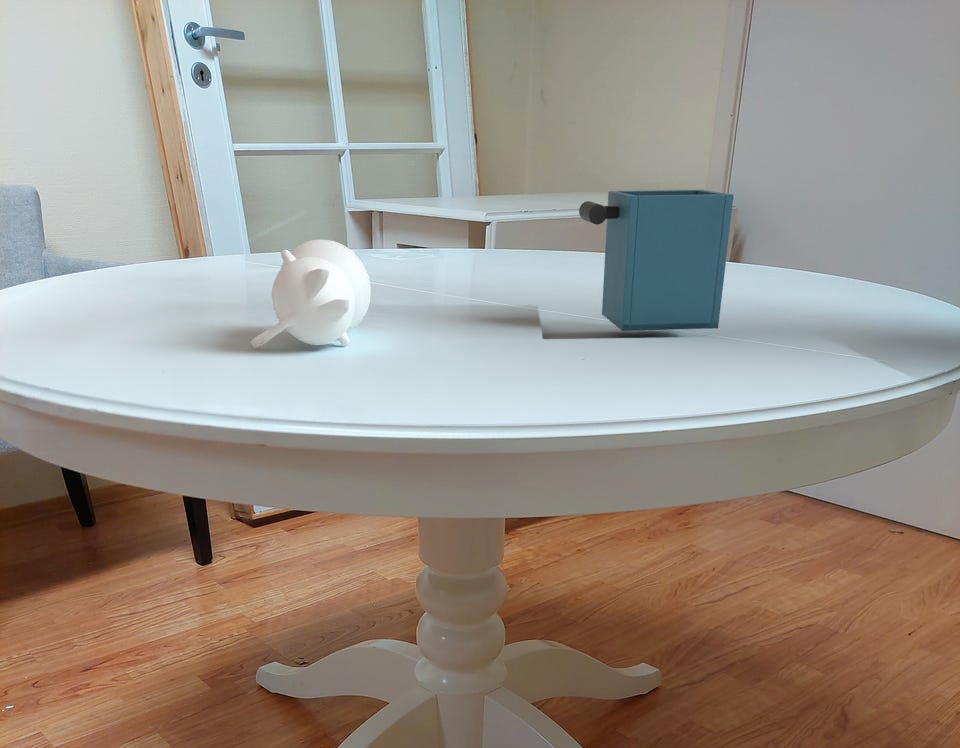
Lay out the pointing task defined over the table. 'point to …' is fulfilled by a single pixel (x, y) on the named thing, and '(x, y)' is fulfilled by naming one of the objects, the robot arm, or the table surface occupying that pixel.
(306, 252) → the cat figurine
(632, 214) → the tub
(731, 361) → the table surface
